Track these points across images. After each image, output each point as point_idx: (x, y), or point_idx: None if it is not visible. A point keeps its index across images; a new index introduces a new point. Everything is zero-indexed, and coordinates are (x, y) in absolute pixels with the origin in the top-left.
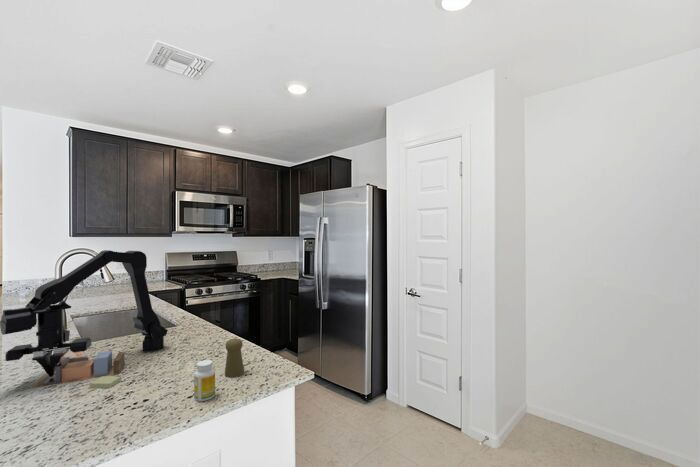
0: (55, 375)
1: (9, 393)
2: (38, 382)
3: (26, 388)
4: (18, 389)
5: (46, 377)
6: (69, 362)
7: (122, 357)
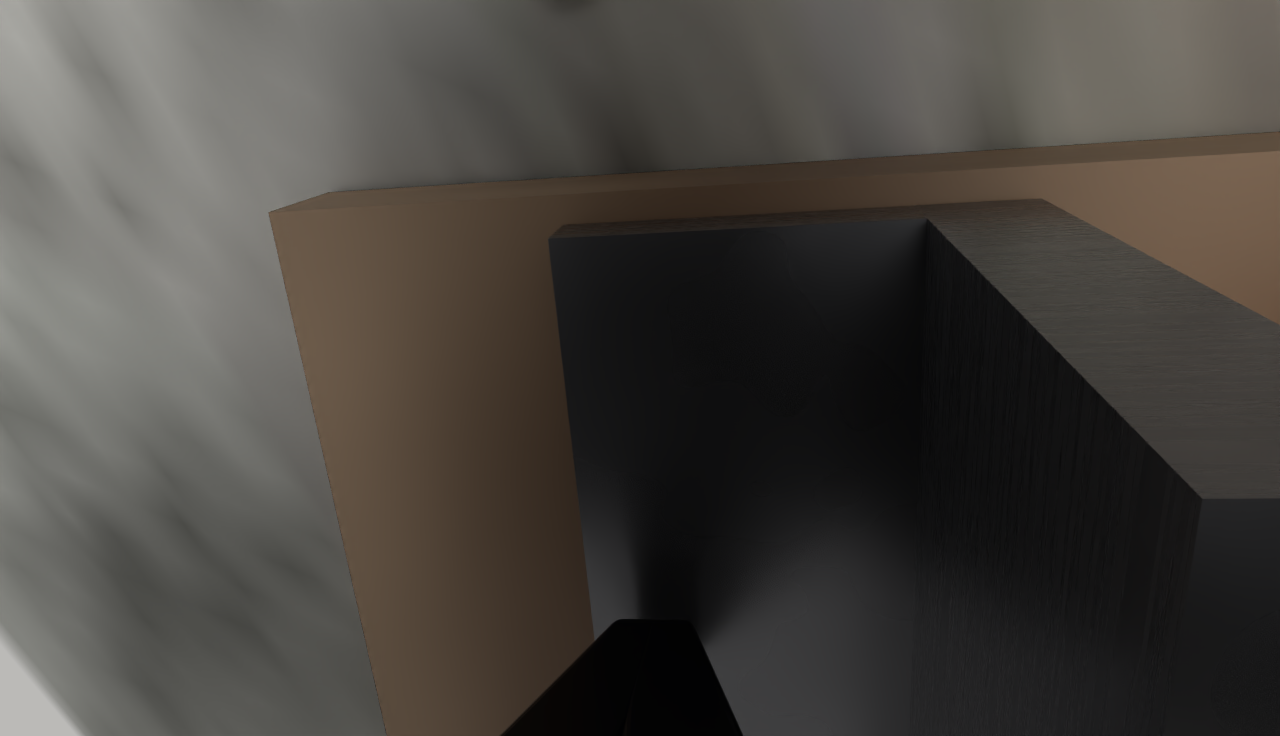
0: (714, 519)
1: (82, 671)
2: (418, 632)
3: (251, 565)
4: (116, 548)
5: (438, 353)
6: (1246, 340)
7: None
